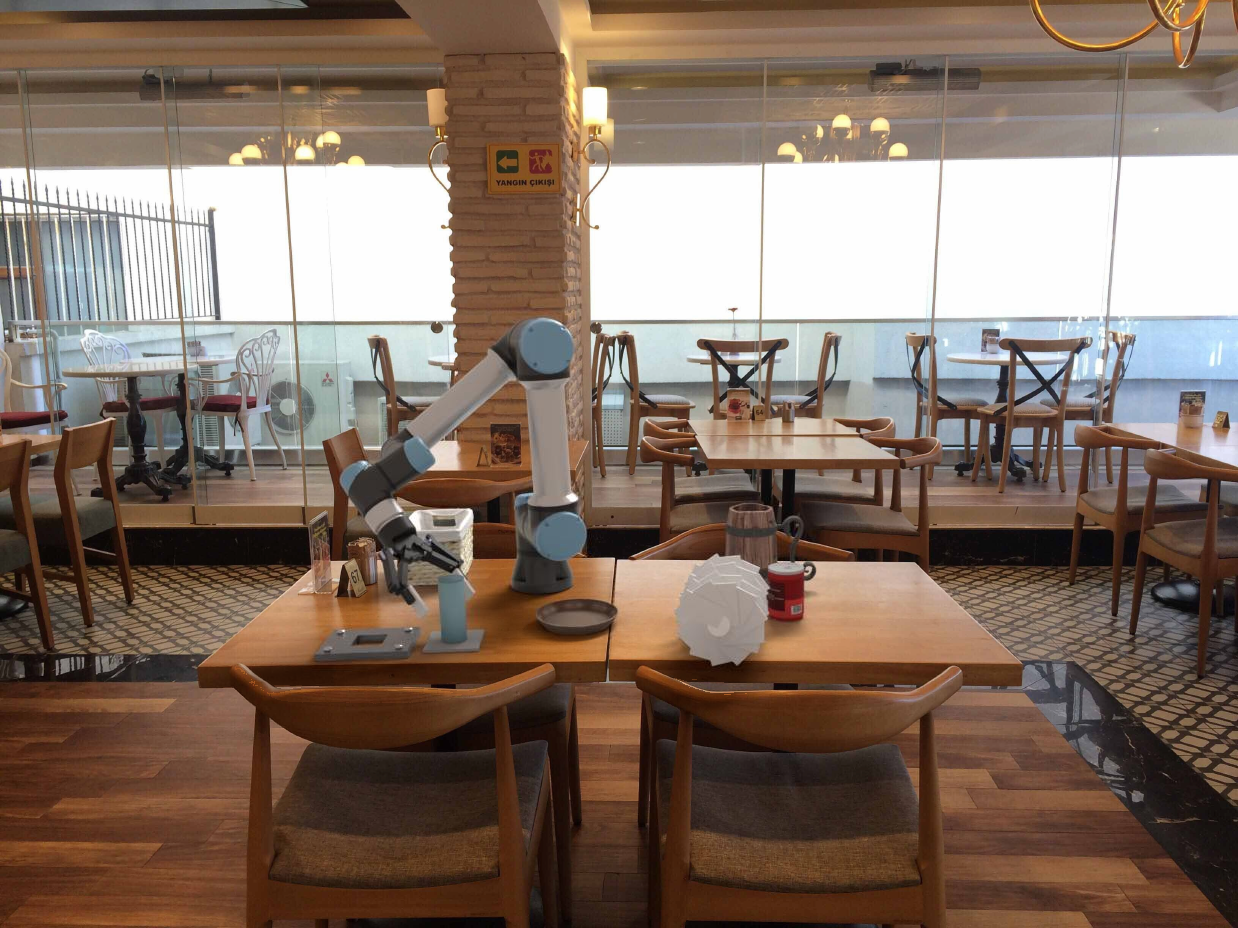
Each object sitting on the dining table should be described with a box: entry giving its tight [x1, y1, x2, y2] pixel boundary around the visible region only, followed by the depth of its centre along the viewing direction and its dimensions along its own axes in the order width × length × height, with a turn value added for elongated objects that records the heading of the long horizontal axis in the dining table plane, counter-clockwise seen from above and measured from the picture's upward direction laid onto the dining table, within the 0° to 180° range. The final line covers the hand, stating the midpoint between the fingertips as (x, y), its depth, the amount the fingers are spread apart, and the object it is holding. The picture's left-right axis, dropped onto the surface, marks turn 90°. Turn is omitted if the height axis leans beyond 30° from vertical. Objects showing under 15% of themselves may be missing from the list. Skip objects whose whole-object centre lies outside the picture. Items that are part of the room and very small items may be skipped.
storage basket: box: [407, 507, 475, 587], centre depth 242 cm, size 24×16×15 cm
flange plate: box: [314, 626, 422, 662], centre depth 191 cm, size 18×14×2 cm
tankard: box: [724, 502, 817, 601], centre depth 220 cm, size 24×17×20 cm
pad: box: [422, 629, 485, 654], centre depth 192 cm, size 11×11×1 cm
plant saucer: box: [535, 598, 619, 636], centre depth 202 cm, size 18×18×3 cm
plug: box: [437, 575, 468, 644], centre depth 191 cm, size 5×5×13 cm
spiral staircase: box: [673, 553, 770, 667], centre depth 183 cm, size 18×18×25 cm
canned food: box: [767, 561, 805, 623], centre depth 202 cm, size 8×8×11 cm
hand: (448, 605), depth 191 cm, fingers open, 13 cm apart
